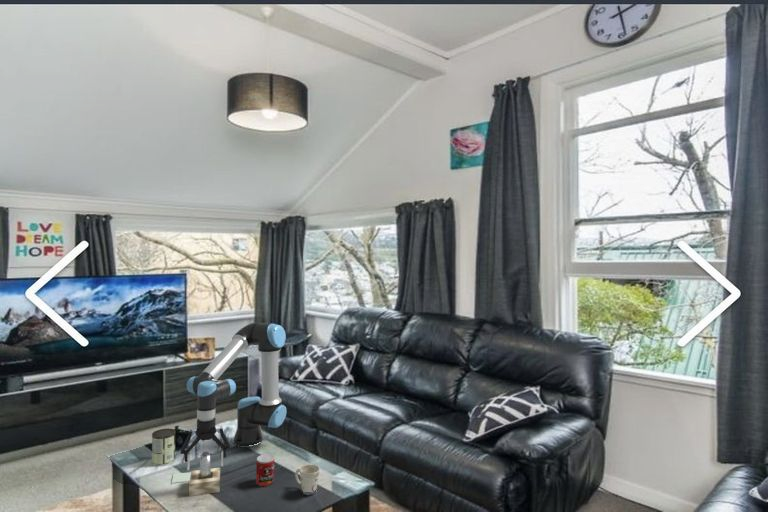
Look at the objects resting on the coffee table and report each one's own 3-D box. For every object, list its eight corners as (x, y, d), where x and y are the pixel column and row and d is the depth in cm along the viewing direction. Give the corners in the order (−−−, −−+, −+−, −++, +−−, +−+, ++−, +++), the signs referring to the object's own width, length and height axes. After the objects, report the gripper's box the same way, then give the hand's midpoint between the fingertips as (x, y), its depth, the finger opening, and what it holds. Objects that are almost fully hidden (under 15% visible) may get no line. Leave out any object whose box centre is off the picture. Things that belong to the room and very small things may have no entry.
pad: (192, 472, 215) (192, 471, 215) (191, 481, 207) (191, 480, 207) (173, 475, 212) (173, 474, 212) (171, 483, 205) (171, 482, 205)
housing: (219, 478, 210) (220, 467, 210) (219, 491, 199) (219, 480, 199) (191, 482, 206) (191, 471, 206) (189, 496, 195) (189, 484, 195)
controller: (174, 443, 246) (174, 424, 246) (195, 445, 243) (195, 426, 243) (168, 446, 242) (169, 427, 242) (189, 449, 239) (190, 429, 239)
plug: (210, 483, 205) (211, 449, 205) (210, 488, 201) (210, 454, 201) (199, 485, 204) (200, 451, 204) (199, 490, 200) (200, 455, 199)
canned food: (258, 488, 202) (258, 463, 202) (254, 480, 209) (254, 455, 209) (275, 484, 206) (276, 459, 206) (271, 476, 213) (271, 452, 213)
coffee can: (159, 455, 231) (159, 427, 231) (179, 457, 230) (179, 428, 230) (146, 465, 221) (147, 435, 221) (167, 467, 220) (168, 437, 220)
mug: (310, 499, 195) (310, 475, 194) (287, 490, 201) (288, 467, 201) (322, 490, 202) (323, 467, 202) (300, 482, 208) (301, 460, 208)
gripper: (236, 412, 210) (235, 459, 210) (175, 417, 202) (174, 466, 202) (236, 418, 202) (235, 467, 203) (173, 424, 194) (173, 474, 195)
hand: (205, 467), depth 202 cm, fingers open, 13 cm apart
